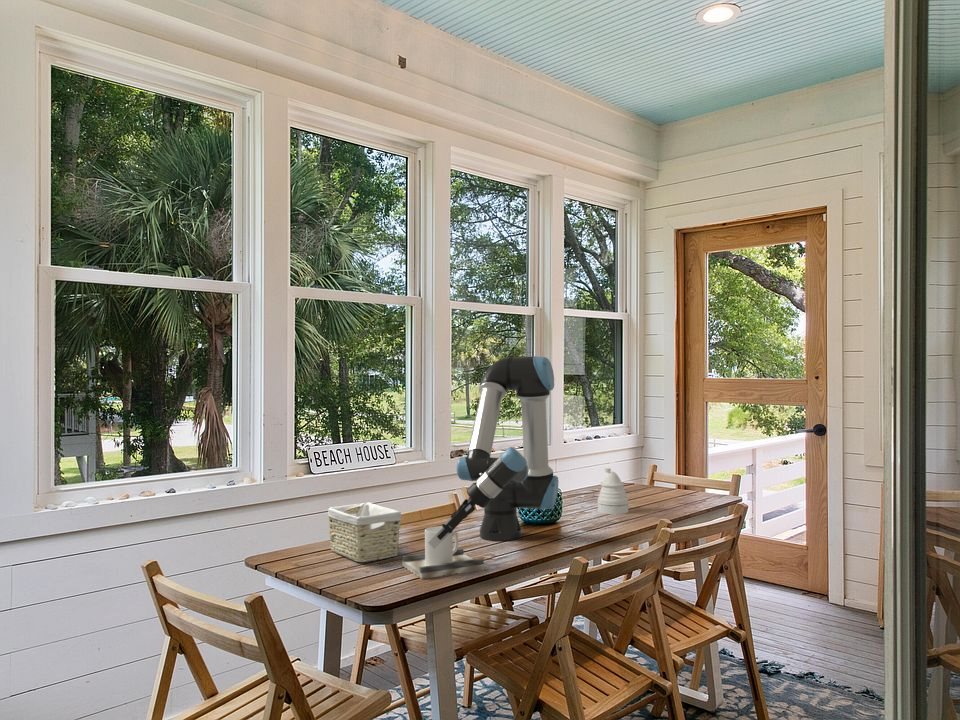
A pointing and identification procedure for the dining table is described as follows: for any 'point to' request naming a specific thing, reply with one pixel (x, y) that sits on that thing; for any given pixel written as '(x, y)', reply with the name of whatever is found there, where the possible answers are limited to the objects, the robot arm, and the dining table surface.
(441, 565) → the rail board
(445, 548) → the cup
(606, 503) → the honey pot
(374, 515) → the storage basket
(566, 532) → the dining table surface
